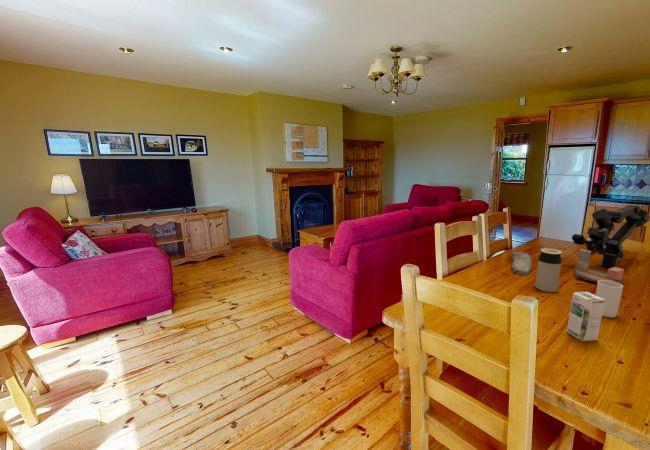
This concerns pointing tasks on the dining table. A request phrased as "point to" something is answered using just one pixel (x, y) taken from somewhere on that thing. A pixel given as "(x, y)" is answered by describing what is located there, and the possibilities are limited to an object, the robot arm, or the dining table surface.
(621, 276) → the dusty pink block
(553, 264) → the travel mug
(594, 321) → the syrup box
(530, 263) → the elongated rock
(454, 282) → the dining table surface
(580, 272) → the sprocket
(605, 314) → the mug
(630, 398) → the dining table surface
